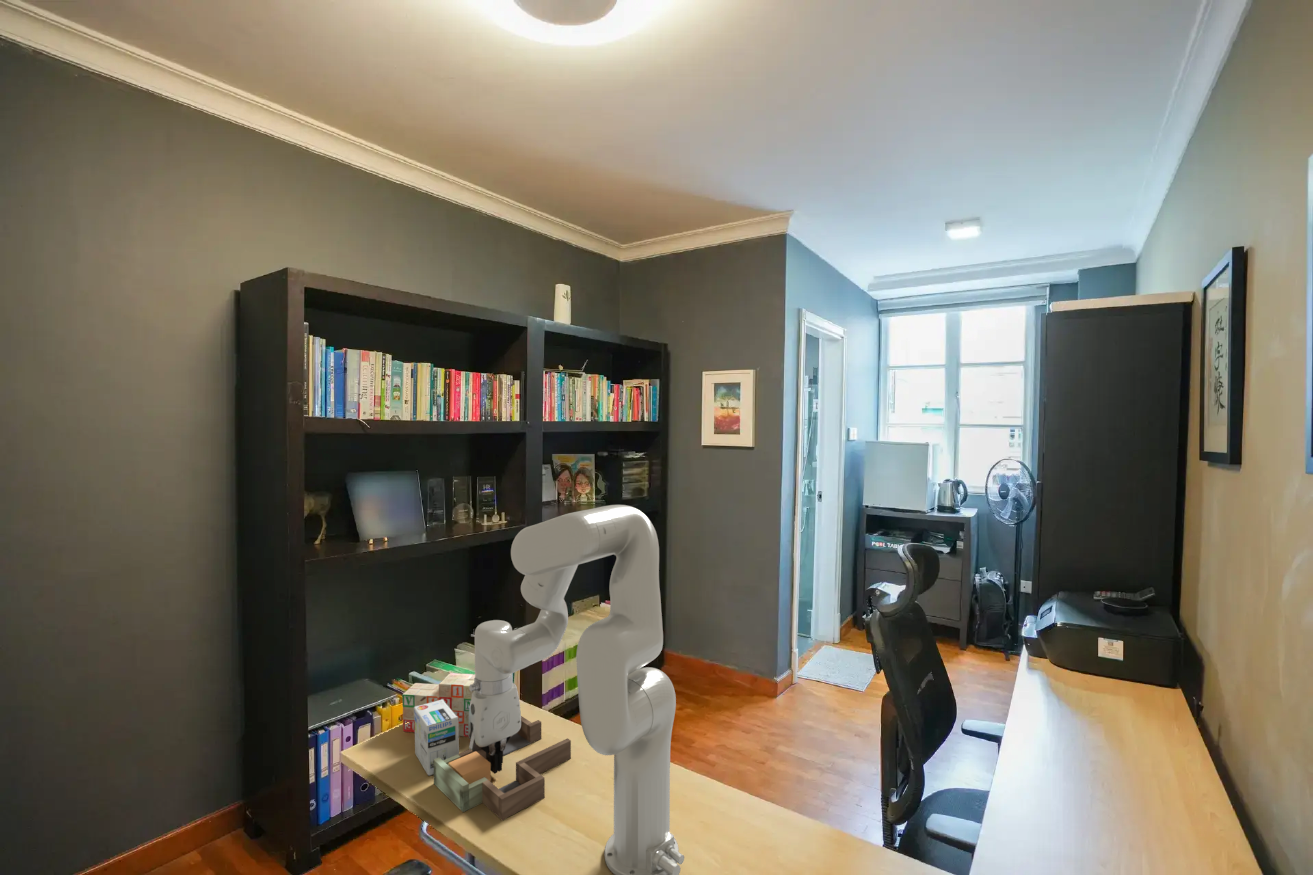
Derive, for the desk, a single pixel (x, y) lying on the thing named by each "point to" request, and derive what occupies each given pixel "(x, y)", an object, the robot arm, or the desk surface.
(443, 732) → the light bulb box
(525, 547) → the robot arm
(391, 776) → the desk surface
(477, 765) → the block
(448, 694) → the stack of blocks
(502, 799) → the box
